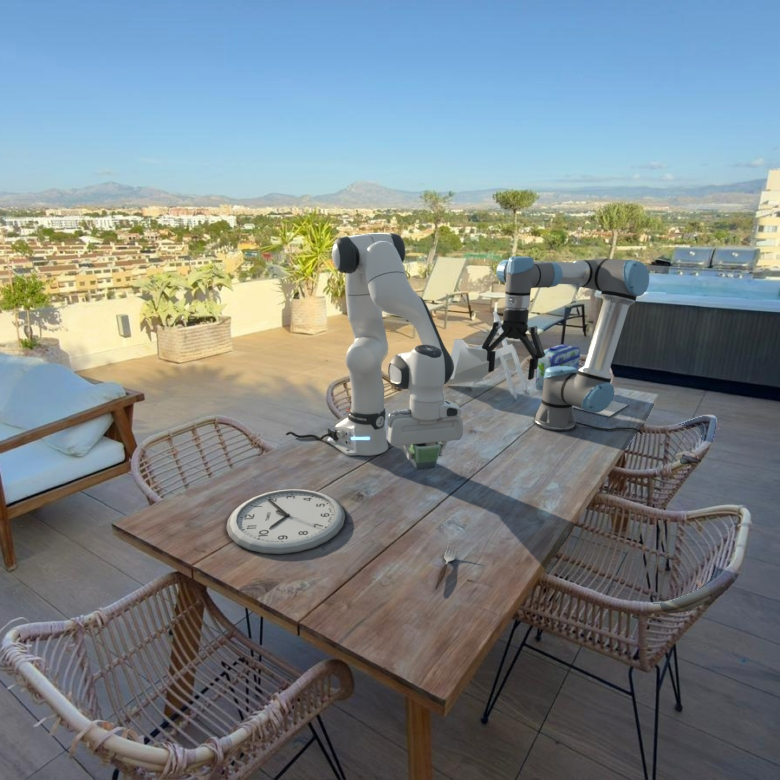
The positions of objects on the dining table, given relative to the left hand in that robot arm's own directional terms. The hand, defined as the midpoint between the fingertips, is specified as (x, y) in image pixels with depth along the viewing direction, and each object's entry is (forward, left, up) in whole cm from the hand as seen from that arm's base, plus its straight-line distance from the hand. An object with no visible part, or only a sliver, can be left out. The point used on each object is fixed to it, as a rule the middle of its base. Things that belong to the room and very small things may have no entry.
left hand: (424, 457), depth 140 cm
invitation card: (+2, +119, -14) cm, 120 cm away
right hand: (-1, +44, +14) cm, 46 cm away
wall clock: (-20, -31, -14) cm, 39 cm away
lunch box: (-24, +129, -14) cm, 132 cm away
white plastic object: (-47, +98, -14) cm, 110 cm away
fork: (+22, -19, -14) cm, 32 cm away
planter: (-9, +6, -3) cm, 11 cm away
